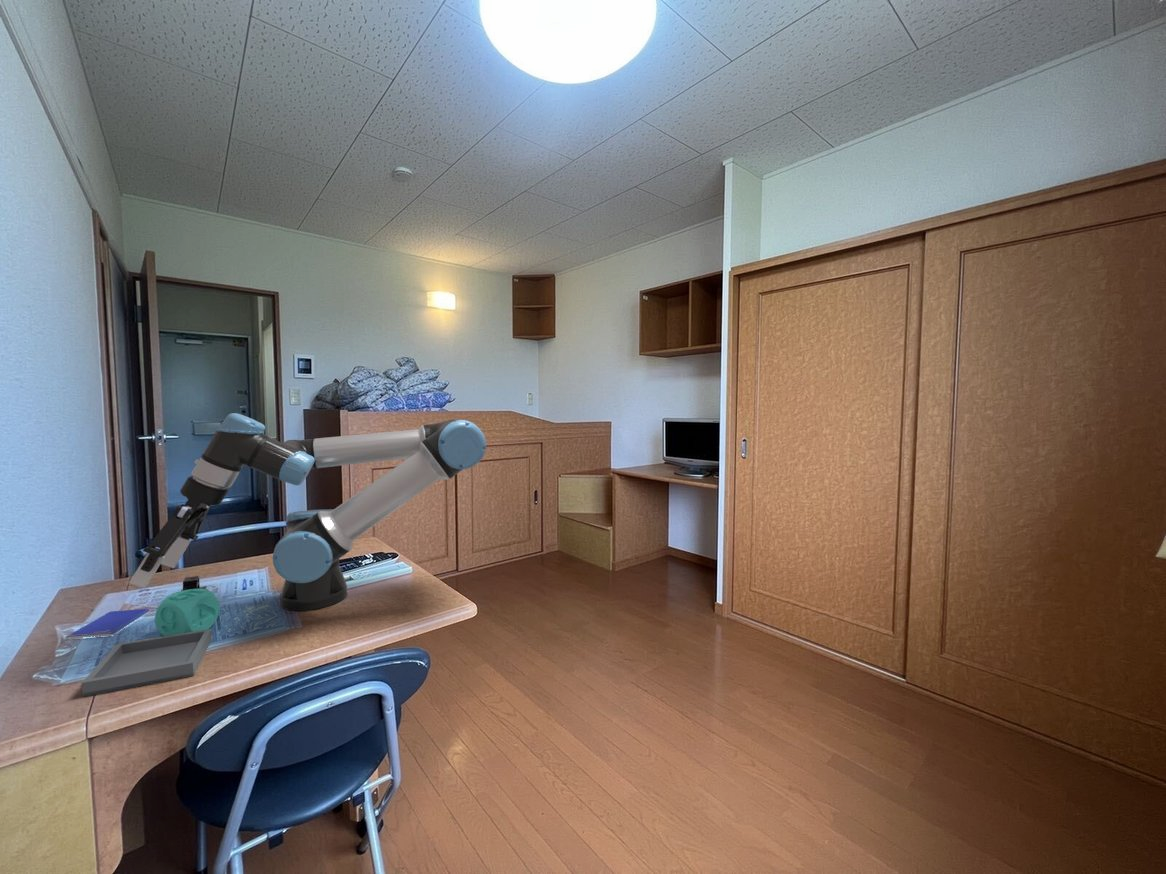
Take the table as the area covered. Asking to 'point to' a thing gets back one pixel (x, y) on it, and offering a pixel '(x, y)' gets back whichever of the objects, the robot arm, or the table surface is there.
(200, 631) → the tray
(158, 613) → the decorative dice
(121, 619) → the purple flat rectangle
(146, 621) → the table surface
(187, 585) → the black boxy piece
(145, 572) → the robot arm
